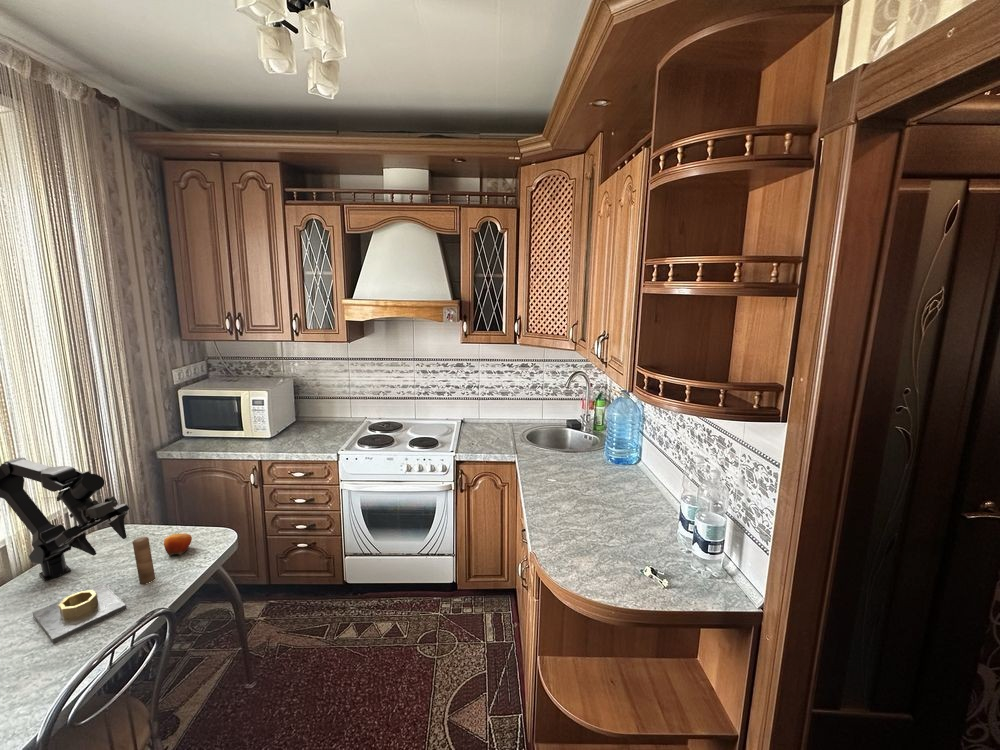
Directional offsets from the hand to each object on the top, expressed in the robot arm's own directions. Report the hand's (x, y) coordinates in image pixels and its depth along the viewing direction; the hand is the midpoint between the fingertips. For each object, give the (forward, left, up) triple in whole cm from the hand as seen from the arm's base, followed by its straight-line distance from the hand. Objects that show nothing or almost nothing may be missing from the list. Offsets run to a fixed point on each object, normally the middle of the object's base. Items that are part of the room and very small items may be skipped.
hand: (110, 546), depth 146 cm
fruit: (-4, +19, -13) cm, 23 cm away
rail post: (+6, +6, -13) cm, 15 cm away
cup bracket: (+7, -11, -13) cm, 19 cm away
